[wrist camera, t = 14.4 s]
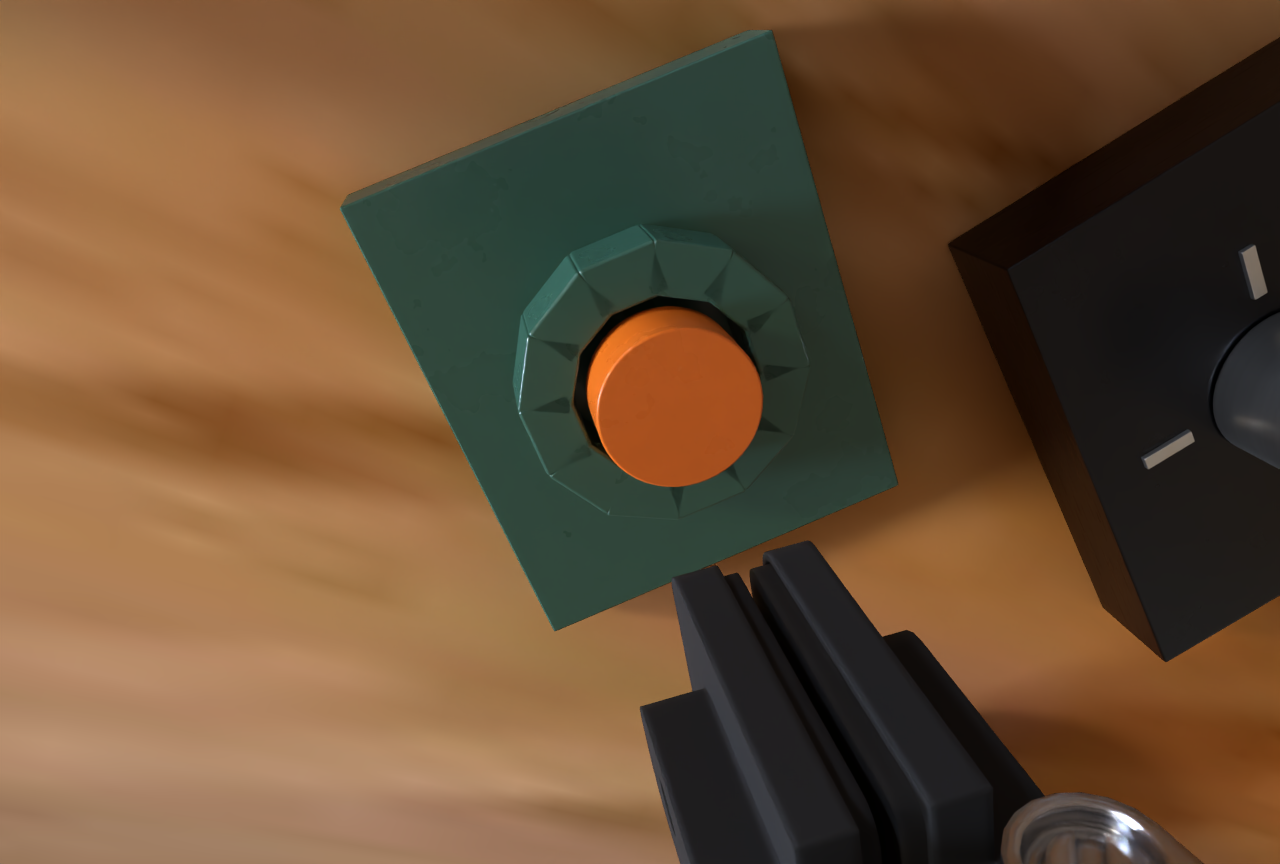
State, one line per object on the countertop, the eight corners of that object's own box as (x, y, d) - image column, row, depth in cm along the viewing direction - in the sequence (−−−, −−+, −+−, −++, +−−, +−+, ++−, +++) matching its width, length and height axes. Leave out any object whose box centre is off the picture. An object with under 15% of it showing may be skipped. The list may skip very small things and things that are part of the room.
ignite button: (560, 343, 21) (570, 369, 19) (712, 279, 21) (735, 300, 19) (619, 478, 22) (631, 513, 21) (760, 419, 22) (783, 448, 21)
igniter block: (346, 195, 22) (329, 223, 18) (749, 29, 22) (801, 29, 19) (548, 597, 27) (562, 674, 24) (873, 459, 27) (930, 517, 24)
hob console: (946, 243, 25) (1011, 271, 22) (1318, 12, 24) (1434, 10, 21) (1102, 607, 31) (1169, 666, 28) (1403, 428, 30) (1504, 469, 27)
